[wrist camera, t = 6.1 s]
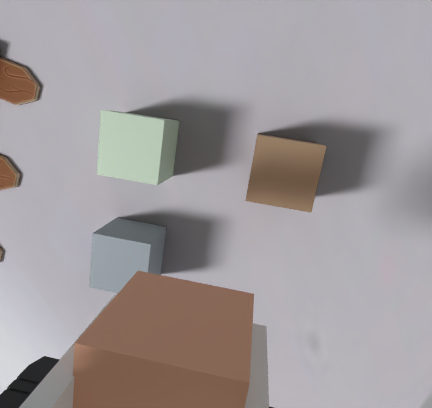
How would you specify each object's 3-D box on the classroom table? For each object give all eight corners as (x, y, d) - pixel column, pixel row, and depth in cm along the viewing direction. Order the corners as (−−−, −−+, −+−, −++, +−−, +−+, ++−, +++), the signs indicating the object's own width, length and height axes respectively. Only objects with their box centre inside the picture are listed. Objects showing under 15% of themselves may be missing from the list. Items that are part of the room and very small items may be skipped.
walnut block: (257, 133, 29) (257, 134, 24) (315, 142, 29) (326, 145, 24) (247, 188, 31) (245, 200, 26) (302, 198, 30) (311, 212, 25)
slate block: (117, 217, 33) (92, 233, 28) (167, 226, 32) (150, 244, 27) (113, 264, 34) (89, 287, 29) (161, 273, 34) (144, 298, 29)
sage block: (126, 112, 30) (100, 109, 25) (179, 120, 30) (164, 120, 25) (121, 166, 32) (96, 174, 27) (173, 175, 31) (157, 185, 26)
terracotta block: (137, 270, 14) (74, 342, 9) (253, 294, 14) (249, 382, 9) (127, 369, 16) (67, 478, 11) (234, 394, 15) (221, 520, 10)
